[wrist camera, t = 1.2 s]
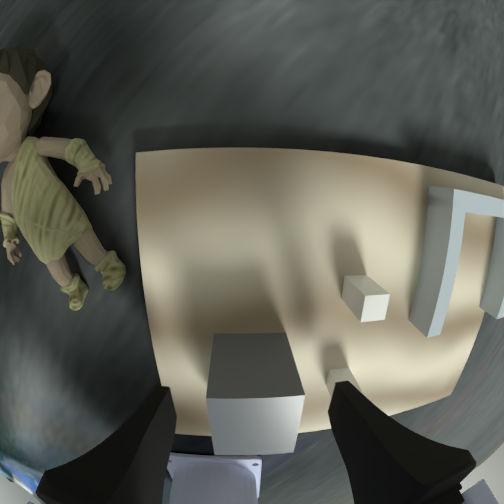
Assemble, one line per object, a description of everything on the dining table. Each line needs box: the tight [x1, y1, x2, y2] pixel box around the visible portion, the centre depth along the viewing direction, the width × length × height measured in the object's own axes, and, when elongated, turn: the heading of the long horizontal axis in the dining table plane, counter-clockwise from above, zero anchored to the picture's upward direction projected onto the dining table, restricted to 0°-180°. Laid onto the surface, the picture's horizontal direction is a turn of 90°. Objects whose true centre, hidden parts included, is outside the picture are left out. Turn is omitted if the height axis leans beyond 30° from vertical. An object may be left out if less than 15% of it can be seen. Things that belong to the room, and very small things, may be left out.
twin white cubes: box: [326, 275, 390, 398], centre depth 12 cm, size 7×1×2 cm, turn 179°
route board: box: [136, 147, 504, 436], centre depth 14 cm, size 17×22×1 cm
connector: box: [206, 332, 305, 456], centre depth 12 cm, size 8×4×4 cm, turn 179°
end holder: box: [409, 186, 504, 338], centre depth 12 cm, size 8×8×2 cm
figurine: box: [0, 48, 126, 311], centre depth 9 cm, size 8×6×15 cm
